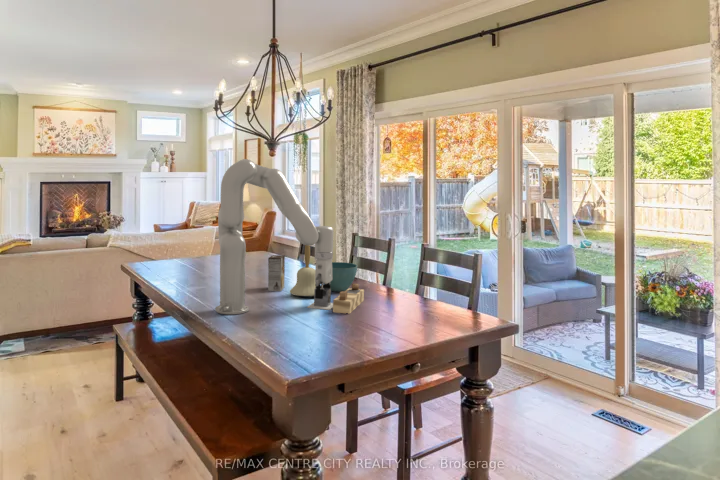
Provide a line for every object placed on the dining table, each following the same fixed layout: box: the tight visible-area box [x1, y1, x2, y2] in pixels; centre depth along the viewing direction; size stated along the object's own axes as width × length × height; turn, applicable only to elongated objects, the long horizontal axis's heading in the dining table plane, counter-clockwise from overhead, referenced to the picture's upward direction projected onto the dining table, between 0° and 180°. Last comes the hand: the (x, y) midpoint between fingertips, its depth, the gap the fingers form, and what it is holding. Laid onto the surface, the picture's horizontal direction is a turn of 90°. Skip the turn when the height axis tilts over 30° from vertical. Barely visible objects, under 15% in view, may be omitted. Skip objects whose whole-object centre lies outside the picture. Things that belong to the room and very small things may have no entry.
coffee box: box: [267, 254, 286, 292], centre depth 234 cm, size 9×6×16 cm
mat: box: [306, 302, 333, 311], centre depth 205 cm, size 10×10×1 cm
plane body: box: [332, 283, 365, 315], centre depth 206 cm, size 24×7×8 cm, turn 166°
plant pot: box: [329, 261, 358, 293], centre depth 237 cm, size 18×18×12 cm
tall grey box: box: [313, 288, 332, 307], centre depth 205 cm, size 4×6×7 cm, turn 77°
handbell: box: [289, 244, 316, 297], centre depth 222 cm, size 15×15×25 cm
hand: (322, 296), depth 205 cm, fingers open, 9 cm apart
